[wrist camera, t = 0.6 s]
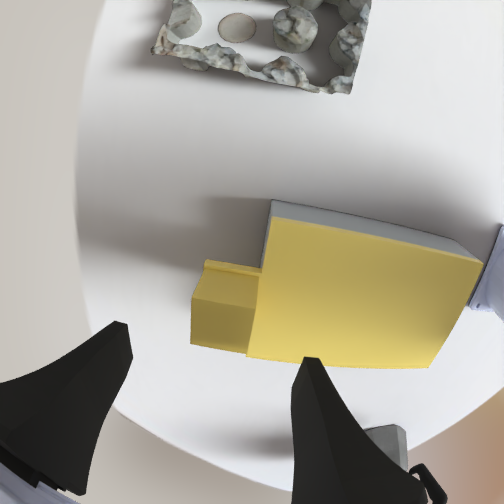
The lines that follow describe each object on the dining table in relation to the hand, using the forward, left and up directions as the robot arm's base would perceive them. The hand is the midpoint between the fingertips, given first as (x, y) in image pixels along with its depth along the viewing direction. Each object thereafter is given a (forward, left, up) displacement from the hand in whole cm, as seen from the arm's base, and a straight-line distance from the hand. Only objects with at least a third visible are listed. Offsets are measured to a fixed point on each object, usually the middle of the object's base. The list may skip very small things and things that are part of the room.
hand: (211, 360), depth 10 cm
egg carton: (0, -15, -10) cm, 18 cm away
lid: (-7, 0, -6) cm, 9 cm away
